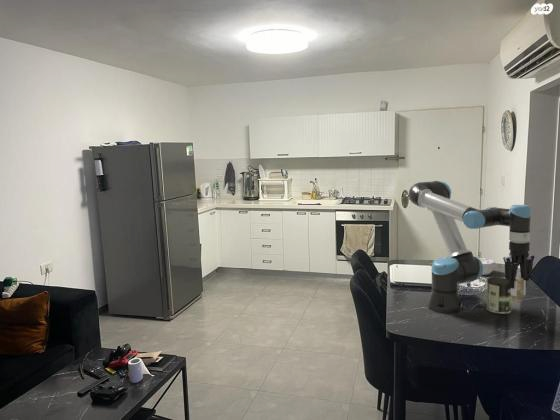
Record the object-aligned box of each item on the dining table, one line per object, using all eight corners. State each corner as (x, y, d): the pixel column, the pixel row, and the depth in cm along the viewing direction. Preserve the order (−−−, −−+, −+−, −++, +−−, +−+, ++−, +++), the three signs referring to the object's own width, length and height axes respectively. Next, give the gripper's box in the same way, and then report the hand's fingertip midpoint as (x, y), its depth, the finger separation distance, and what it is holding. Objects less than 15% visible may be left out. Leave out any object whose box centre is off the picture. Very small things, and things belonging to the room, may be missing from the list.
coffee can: (511, 307, 194) (512, 278, 192) (510, 315, 185) (511, 285, 183) (487, 304, 199) (488, 276, 197) (485, 311, 191) (485, 282, 189)
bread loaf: (517, 302, 175) (518, 279, 174) (510, 299, 178) (510, 277, 177) (525, 301, 176) (525, 278, 175) (517, 298, 180) (518, 276, 178)
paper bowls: (462, 270, 258) (462, 258, 257) (485, 268, 260) (485, 256, 259) (476, 277, 243) (476, 264, 242) (500, 275, 245) (500, 262, 244)
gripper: (508, 244, 169) (507, 299, 172) (543, 241, 172) (541, 295, 174) (495, 241, 176) (494, 294, 179) (529, 238, 179) (528, 290, 182)
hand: (517, 294), depth 177 cm, fingers closed on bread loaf, 3 cm apart
